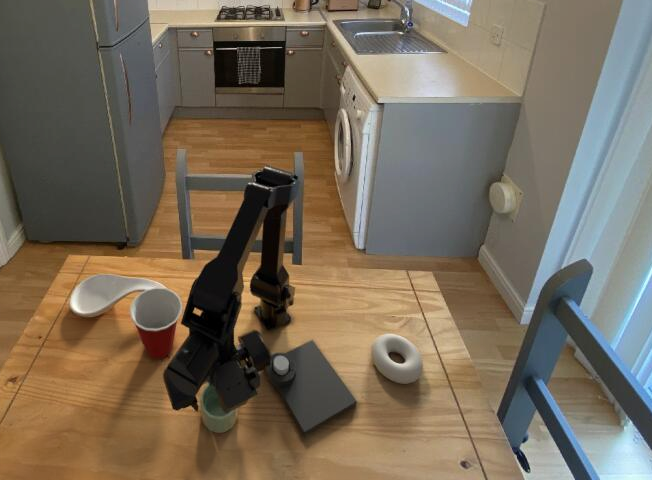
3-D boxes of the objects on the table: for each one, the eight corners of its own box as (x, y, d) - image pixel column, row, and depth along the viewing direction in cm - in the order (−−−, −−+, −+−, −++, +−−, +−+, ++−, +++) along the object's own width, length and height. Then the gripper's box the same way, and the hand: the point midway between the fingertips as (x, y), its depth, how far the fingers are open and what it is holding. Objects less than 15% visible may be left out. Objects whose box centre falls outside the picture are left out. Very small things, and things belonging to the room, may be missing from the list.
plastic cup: (194, 353, 90) (191, 313, 85) (146, 380, 85) (140, 339, 80) (172, 316, 98) (169, 277, 94) (128, 338, 93) (122, 299, 89)
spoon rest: (64, 326, 96) (58, 303, 94) (81, 284, 107) (77, 263, 104) (166, 326, 96) (164, 304, 93) (173, 285, 107) (171, 263, 104)
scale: (260, 369, 86) (260, 359, 85) (312, 344, 91) (313, 334, 90) (299, 439, 75) (300, 429, 73) (356, 406, 80) (358, 395, 78)
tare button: (270, 364, 85) (270, 359, 84) (283, 358, 86) (283, 353, 85) (278, 378, 82) (278, 372, 81) (291, 371, 83) (291, 366, 83)
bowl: (196, 405, 80) (195, 389, 78) (228, 389, 83) (227, 373, 81) (210, 441, 75) (209, 426, 73) (244, 423, 77) (244, 407, 75)
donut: (373, 383, 84) (427, 392, 82) (375, 371, 82) (429, 380, 80) (367, 337, 93) (416, 345, 91) (369, 326, 91) (418, 333, 89)
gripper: (181, 410, 60) (187, 472, 67) (290, 356, 68) (286, 416, 74) (158, 345, 70) (165, 404, 76) (256, 303, 77) (255, 360, 83)
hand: (219, 397), depth 77 cm, fingers open, 9 cm apart
